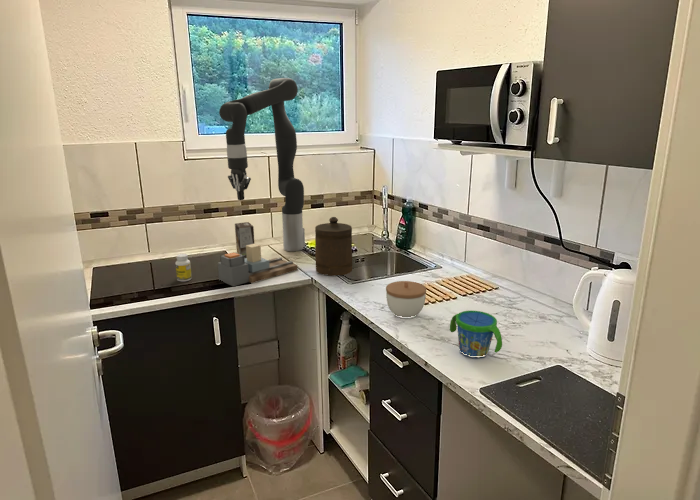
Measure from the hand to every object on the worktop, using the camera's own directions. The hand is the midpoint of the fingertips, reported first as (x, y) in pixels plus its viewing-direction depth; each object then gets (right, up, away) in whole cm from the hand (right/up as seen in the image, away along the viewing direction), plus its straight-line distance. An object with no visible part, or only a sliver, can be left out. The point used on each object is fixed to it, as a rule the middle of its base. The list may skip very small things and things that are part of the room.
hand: (241, 199), depth 194 cm
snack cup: (+77, -48, -63) cm, 111 cm away
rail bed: (+10, -29, +1) cm, 31 cm away
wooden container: (+37, -29, +3) cm, 47 cm away
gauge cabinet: (-1, -32, -9) cm, 33 cm away
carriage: (+6, -27, -3) cm, 28 cm away
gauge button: (-1, -25, -11) cm, 27 cm away
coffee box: (-1, -25, +15) cm, 29 cm away
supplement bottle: (-20, -32, -7) cm, 38 cm away
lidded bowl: (+61, -41, -39) cm, 83 cm away
